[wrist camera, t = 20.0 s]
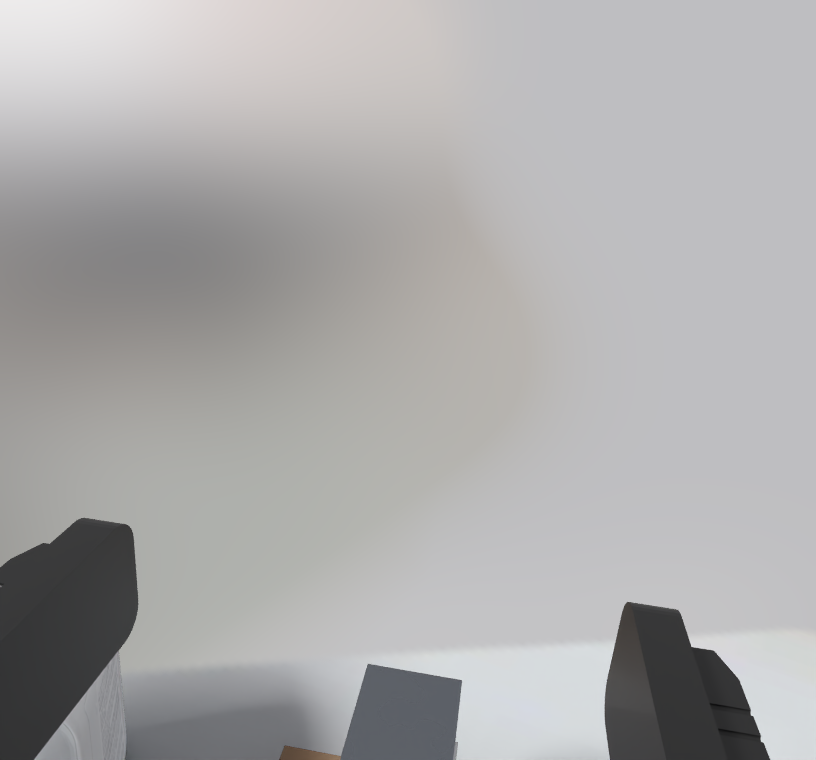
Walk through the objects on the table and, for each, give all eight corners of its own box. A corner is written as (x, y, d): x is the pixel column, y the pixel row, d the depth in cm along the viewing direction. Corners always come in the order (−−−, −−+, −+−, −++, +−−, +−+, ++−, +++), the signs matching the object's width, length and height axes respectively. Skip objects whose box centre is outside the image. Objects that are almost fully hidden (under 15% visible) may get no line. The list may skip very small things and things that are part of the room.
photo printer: (50, 739, 39) (24, 548, 34) (133, 728, 40) (118, 542, 35) (-4, 941, 29) (-50, 715, 25) (106, 920, 30) (81, 699, 26)
